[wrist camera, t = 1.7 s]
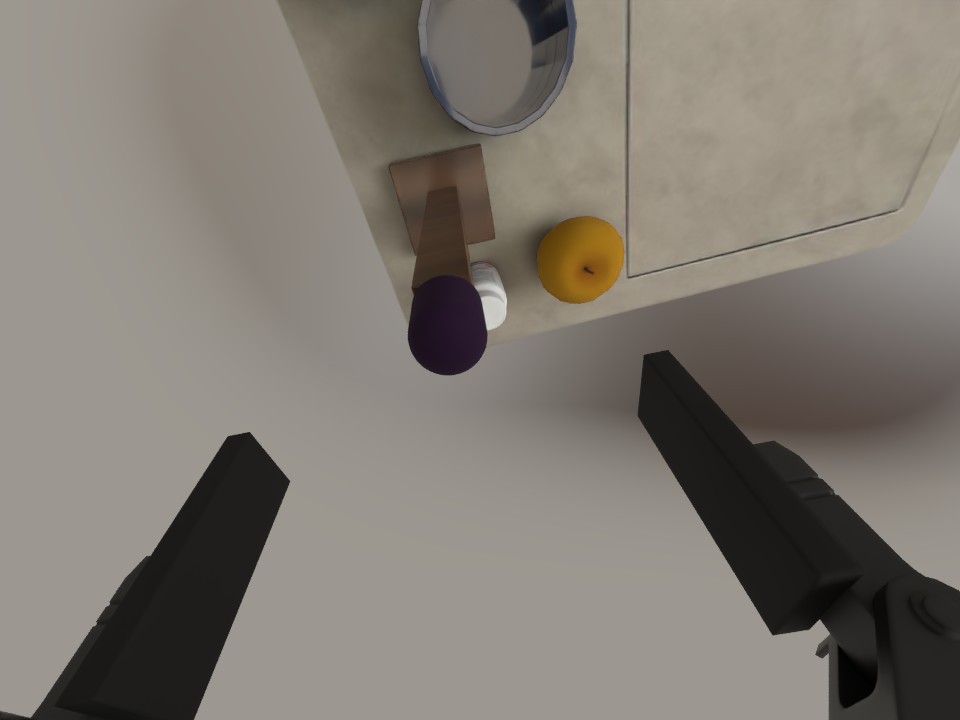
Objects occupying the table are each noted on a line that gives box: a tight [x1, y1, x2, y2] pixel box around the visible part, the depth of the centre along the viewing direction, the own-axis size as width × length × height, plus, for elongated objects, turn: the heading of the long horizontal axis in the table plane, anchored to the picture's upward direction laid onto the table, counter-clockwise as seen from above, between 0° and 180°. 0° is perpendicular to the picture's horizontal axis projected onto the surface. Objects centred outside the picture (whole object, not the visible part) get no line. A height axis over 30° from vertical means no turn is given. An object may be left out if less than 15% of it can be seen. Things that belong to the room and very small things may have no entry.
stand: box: [389, 144, 495, 295], centre depth 28 cm, size 9×9×24 cm
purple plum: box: [408, 275, 487, 375], centre depth 17 cm, size 4×4×5 cm
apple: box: [537, 216, 624, 304], centre depth 38 cm, size 9×9×9 cm
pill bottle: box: [471, 262, 507, 330], centre depth 40 cm, size 5×5×8 cm
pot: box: [418, 0, 577, 136], centre depth 29 cm, size 11×11×7 cm
